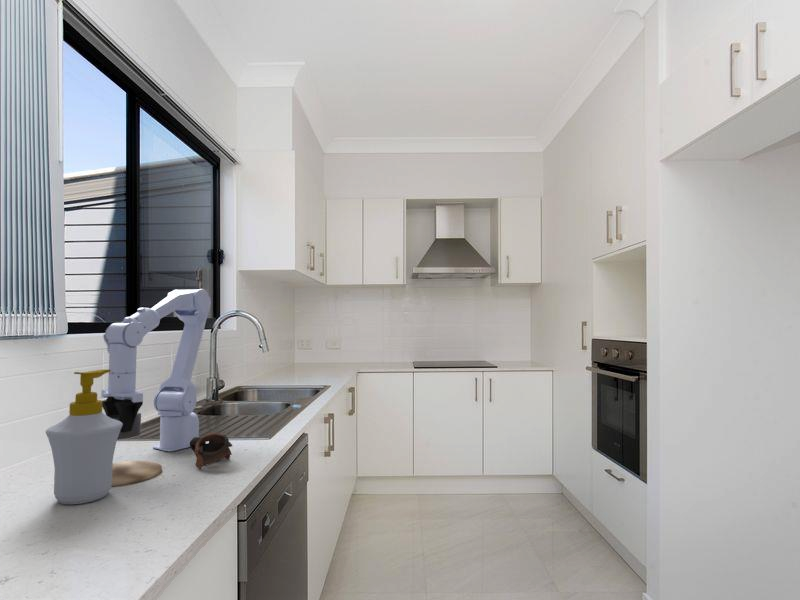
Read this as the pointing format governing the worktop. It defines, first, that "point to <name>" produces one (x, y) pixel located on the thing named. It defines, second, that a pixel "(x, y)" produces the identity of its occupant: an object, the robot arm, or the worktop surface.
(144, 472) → the round copper disc
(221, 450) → the dark brown lumpy piece
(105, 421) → the soap bottle
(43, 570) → the worktop surface
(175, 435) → the robot arm
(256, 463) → the worktop surface
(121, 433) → the dark grey rounded block
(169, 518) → the worktop surface
